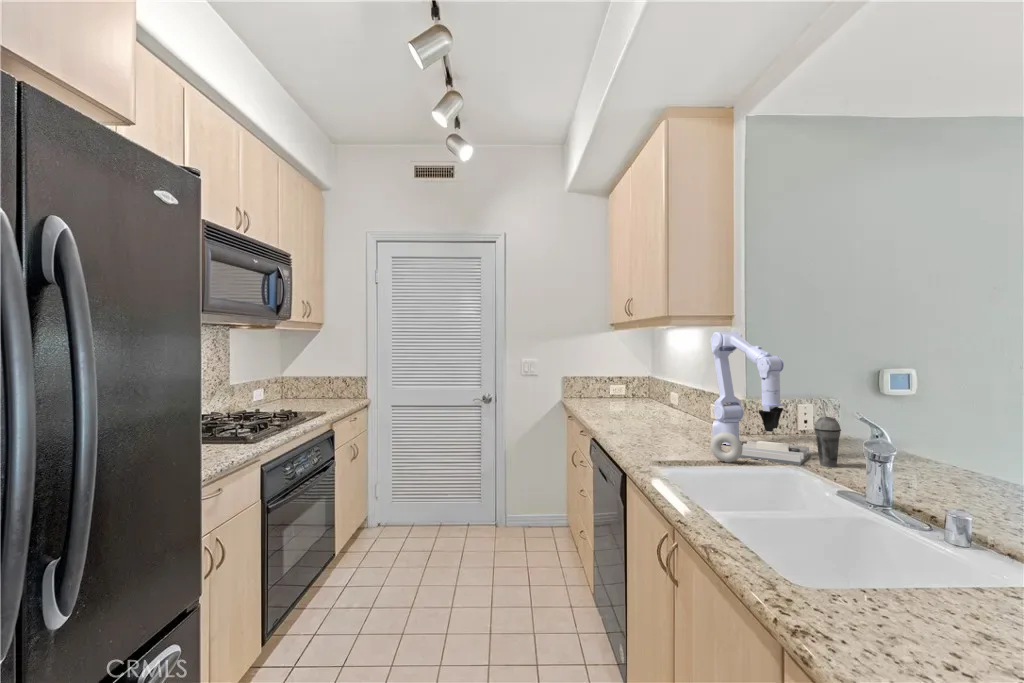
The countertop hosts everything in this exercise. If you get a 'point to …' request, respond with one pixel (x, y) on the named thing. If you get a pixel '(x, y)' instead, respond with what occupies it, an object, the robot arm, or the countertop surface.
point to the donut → (730, 439)
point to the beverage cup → (827, 440)
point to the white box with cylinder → (776, 446)
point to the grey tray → (775, 454)
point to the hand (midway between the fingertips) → (771, 429)
